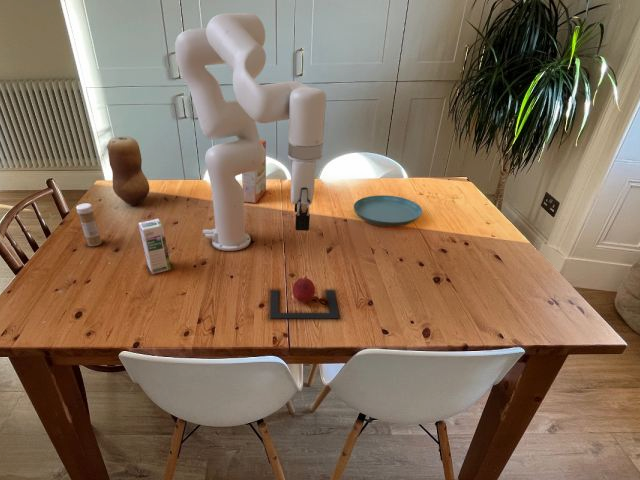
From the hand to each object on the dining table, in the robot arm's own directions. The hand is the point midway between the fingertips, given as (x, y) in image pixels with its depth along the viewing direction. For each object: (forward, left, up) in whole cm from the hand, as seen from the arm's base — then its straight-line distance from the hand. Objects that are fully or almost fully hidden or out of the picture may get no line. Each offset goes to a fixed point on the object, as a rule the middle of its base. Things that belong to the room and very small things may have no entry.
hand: (301, 220), depth 100 cm
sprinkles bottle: (-66, +26, -21) cm, 74 cm away
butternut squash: (-63, +60, -21) cm, 90 cm away
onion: (+1, -6, -21) cm, 21 cm away
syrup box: (-41, +11, -21) cm, 47 cm away
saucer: (+34, +47, -21) cm, 62 cm away
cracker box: (-15, +66, -21) cm, 71 cm away
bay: (+1, -6, -21) cm, 21 cm away
